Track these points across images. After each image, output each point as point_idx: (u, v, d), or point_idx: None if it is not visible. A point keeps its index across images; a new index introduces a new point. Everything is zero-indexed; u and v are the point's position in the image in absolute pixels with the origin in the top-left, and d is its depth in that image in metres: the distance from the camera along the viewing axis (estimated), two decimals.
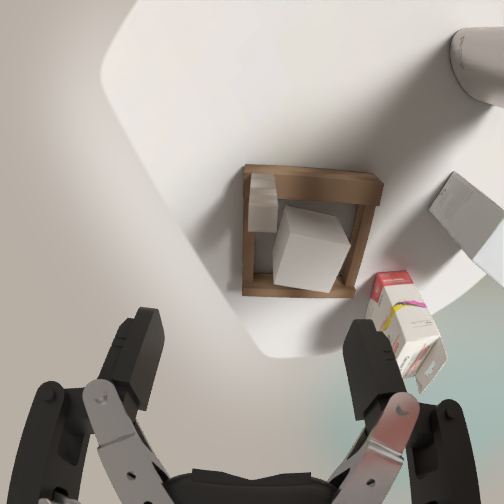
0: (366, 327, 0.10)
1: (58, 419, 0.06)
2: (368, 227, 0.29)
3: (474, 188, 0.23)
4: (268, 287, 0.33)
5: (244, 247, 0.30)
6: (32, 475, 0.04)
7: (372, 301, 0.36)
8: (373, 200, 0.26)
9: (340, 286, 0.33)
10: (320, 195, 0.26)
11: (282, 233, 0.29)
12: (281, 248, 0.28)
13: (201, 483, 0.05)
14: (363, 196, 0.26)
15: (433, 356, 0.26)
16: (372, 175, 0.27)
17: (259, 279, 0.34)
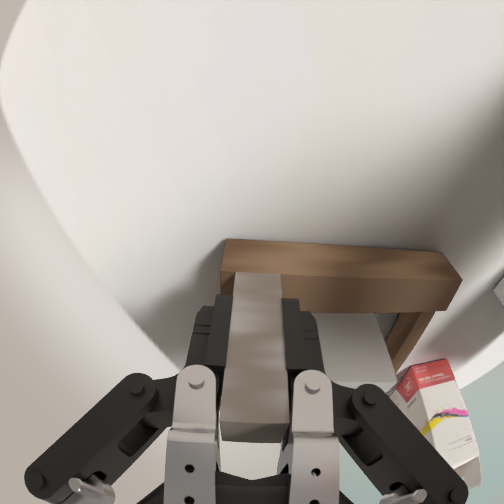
0: (289, 305, 0.11)
1: (136, 416, 0.07)
2: (420, 333, 0.17)
3: None
4: None
5: None
6: (77, 454, 0.05)
7: (398, 394, 0.24)
8: (440, 304, 0.14)
9: None
10: (362, 305, 0.14)
11: None
12: None
13: None
14: (428, 301, 0.14)
15: (464, 472, 0.14)
16: (441, 256, 0.15)
17: None
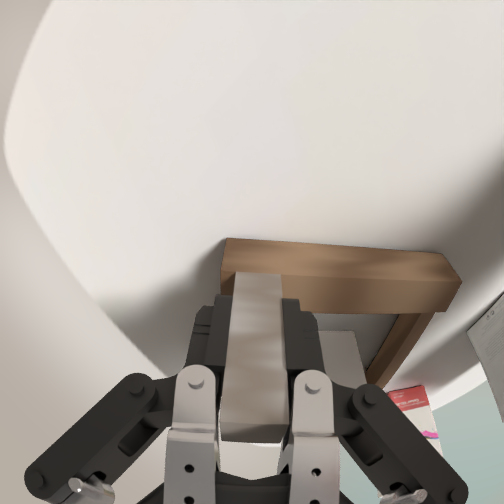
0: (290, 305, 0.11)
1: (135, 416, 0.07)
2: (419, 333, 0.17)
3: None
4: None
5: None
6: (77, 454, 0.05)
7: None
8: (440, 305, 0.14)
9: None
10: (362, 306, 0.14)
11: None
12: None
13: None
14: (428, 302, 0.14)
15: None
16: (441, 257, 0.15)
17: None
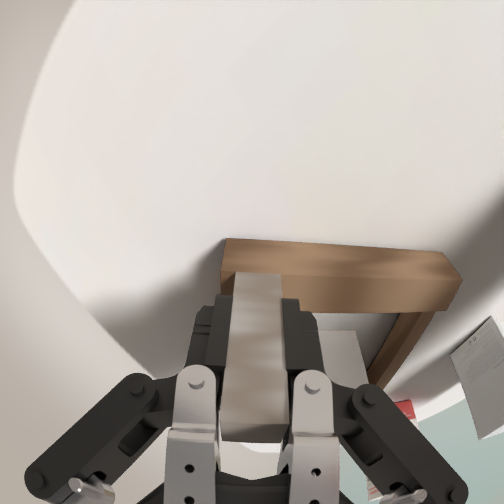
0: (290, 305, 0.11)
1: (136, 416, 0.07)
2: (420, 332, 0.17)
3: None
4: None
5: None
6: (77, 454, 0.05)
7: None
8: (441, 304, 0.14)
9: None
10: (362, 305, 0.14)
11: None
12: None
13: None
14: (428, 301, 0.14)
15: None
16: (441, 256, 0.15)
17: None
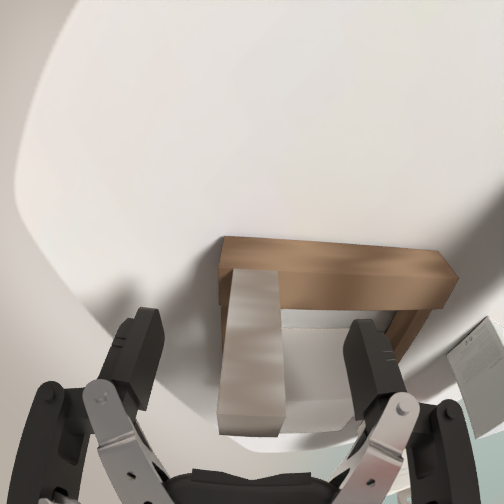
0: (366, 327, 0.10)
1: (59, 420, 0.06)
2: (416, 331, 0.17)
3: None
4: None
5: None
6: (32, 475, 0.04)
7: None
8: (437, 302, 0.14)
9: None
10: (358, 302, 0.14)
11: None
12: None
13: (201, 483, 0.05)
14: (425, 299, 0.14)
15: None
16: (437, 255, 0.15)
17: None
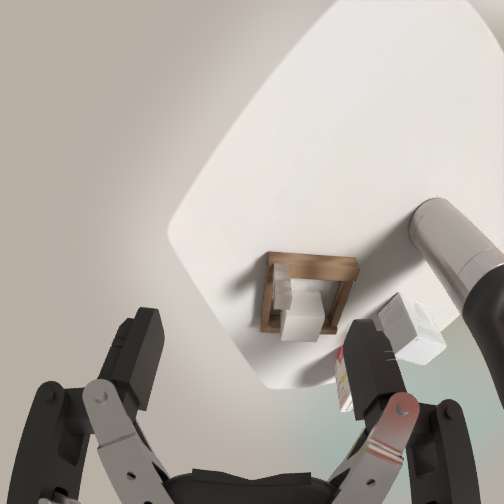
0: (366, 327, 0.10)
1: (59, 419, 0.06)
2: (347, 292, 0.44)
3: (405, 311, 0.43)
4: (278, 327, 0.48)
5: (264, 303, 0.45)
6: (32, 475, 0.04)
7: (337, 361, 0.56)
8: (351, 278, 0.41)
9: (327, 326, 0.48)
10: (317, 276, 0.41)
11: (283, 310, 0.45)
12: (283, 320, 0.44)
13: (201, 483, 0.05)
14: (345, 276, 0.41)
15: None
16: (353, 259, 0.42)
17: (272, 320, 0.49)
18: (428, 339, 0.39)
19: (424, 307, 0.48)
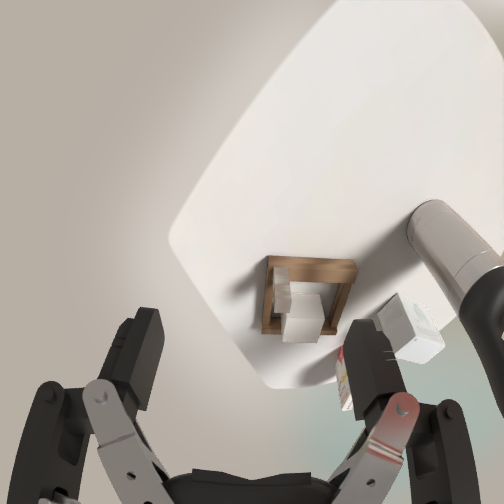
0: (366, 327, 0.10)
1: (58, 420, 0.06)
2: (347, 294, 0.44)
3: (404, 311, 0.43)
4: (279, 329, 0.48)
5: (265, 305, 0.46)
6: (32, 475, 0.04)
7: (338, 360, 0.57)
8: (350, 280, 0.42)
9: (327, 327, 0.49)
10: (316, 279, 0.42)
11: None
12: (284, 322, 0.45)
13: (201, 483, 0.05)
14: (344, 278, 0.42)
15: None
16: (352, 261, 0.43)
17: (273, 322, 0.50)
18: (426, 339, 0.39)
19: (423, 307, 0.48)
